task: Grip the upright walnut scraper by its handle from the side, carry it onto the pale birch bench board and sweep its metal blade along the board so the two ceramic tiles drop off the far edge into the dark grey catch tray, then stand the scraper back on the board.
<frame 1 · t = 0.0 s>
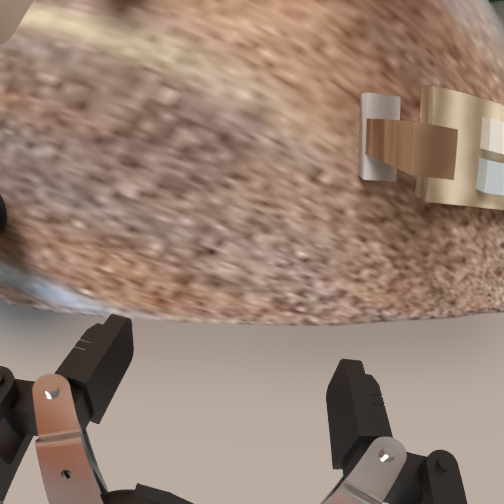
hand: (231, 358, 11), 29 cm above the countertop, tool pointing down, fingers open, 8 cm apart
scraper: (375, 135, 34), on the countertop
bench: (463, 148, 33), on the countertop
tile b: (488, 175, 31), point 3 cm above the countertop, touching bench
tile a: (492, 135, 29), point 3 cm above the countertop, touching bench
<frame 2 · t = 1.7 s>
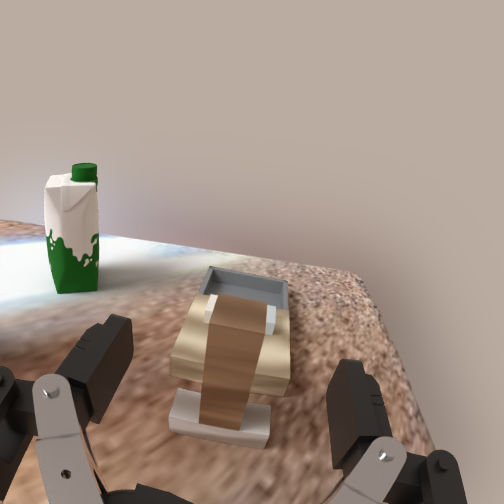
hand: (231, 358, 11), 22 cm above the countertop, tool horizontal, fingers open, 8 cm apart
tray: (243, 302, 53), on the countertop
scraper: (218, 427, 30), on the countertop
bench: (233, 350, 42), on the countertop
milk carton: (76, 282, 49), on the countertop
tile b: (258, 323, 43), point 3 cm above the countertop, touching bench
tile a: (220, 316, 43), point 3 cm above the countertop, touching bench
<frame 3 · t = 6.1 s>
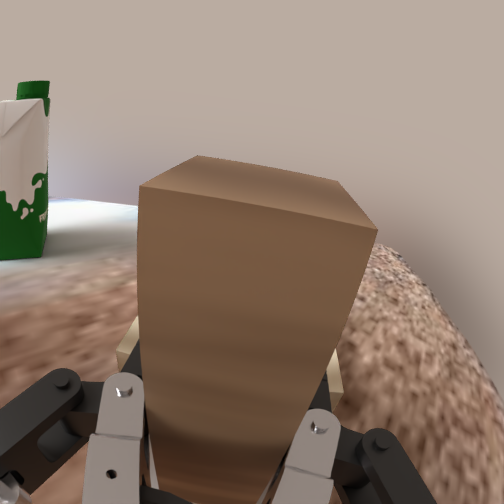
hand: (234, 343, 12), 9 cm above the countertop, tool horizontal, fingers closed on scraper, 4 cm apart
scraper: (208, 490, 13), on the countertop, touching gripper
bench: (235, 344, 25), on the countertop
milk carton: (19, 248, 32), on the countertop
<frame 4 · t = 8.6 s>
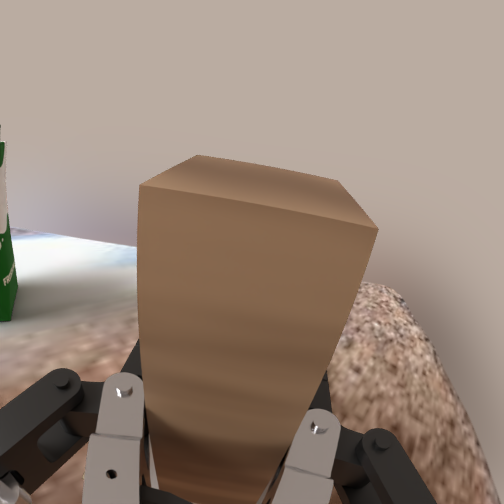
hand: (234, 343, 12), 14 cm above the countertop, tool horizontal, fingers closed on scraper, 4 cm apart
scraper: (208, 490, 13), point 5 cm above the countertop, touching gripper
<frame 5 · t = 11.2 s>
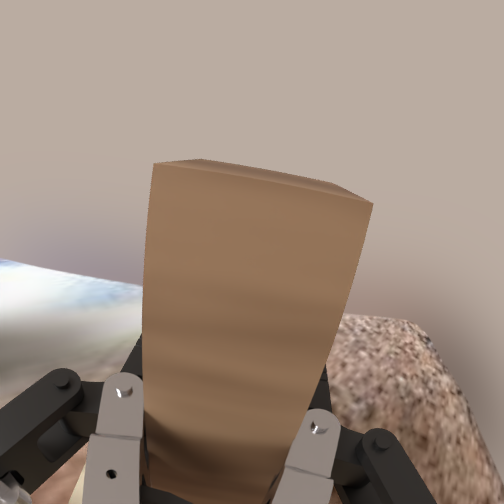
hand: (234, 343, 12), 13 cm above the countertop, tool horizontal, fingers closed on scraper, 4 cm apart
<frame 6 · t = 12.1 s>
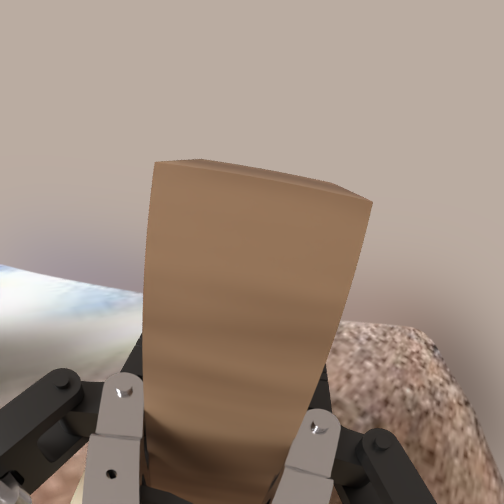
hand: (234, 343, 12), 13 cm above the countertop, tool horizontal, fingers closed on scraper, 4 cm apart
when the fingers open (14 cm above the countertop, at t = 15.4 s): scraper drops 1 cm, resting on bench.
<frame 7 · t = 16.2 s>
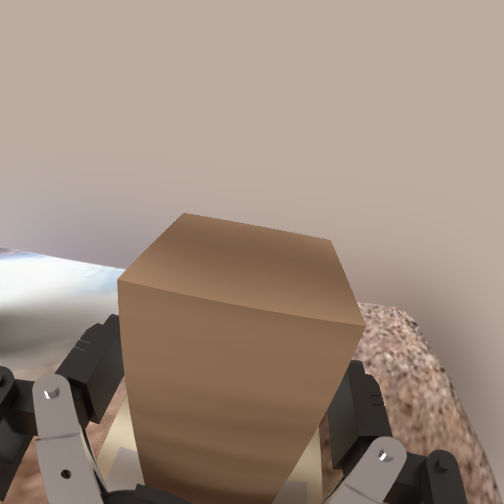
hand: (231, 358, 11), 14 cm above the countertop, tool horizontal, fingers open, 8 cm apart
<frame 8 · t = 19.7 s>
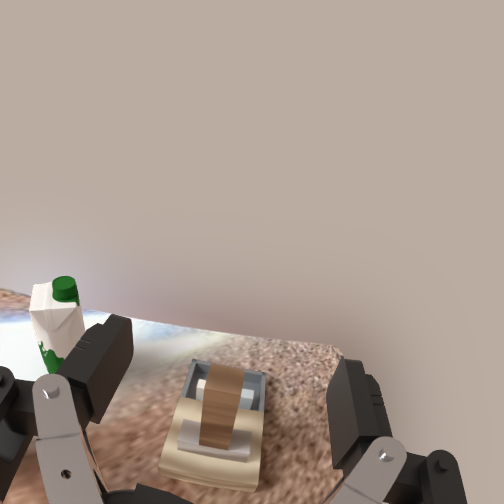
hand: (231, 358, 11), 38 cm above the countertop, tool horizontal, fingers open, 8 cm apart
tray: (224, 395, 54), on the countertop
scraper: (213, 446, 40), point 3 cm above the countertop, touching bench
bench: (213, 449, 43), on the countertop
milk carton: (71, 373, 50), on the countertop
tile b: (239, 404, 50), point 2 cm above the countertop, tilted 90°, touching tray
tile a: (207, 396, 50), point 2 cm above the countertop, tilted 90°, touching tray
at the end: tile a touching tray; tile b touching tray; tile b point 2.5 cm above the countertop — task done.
